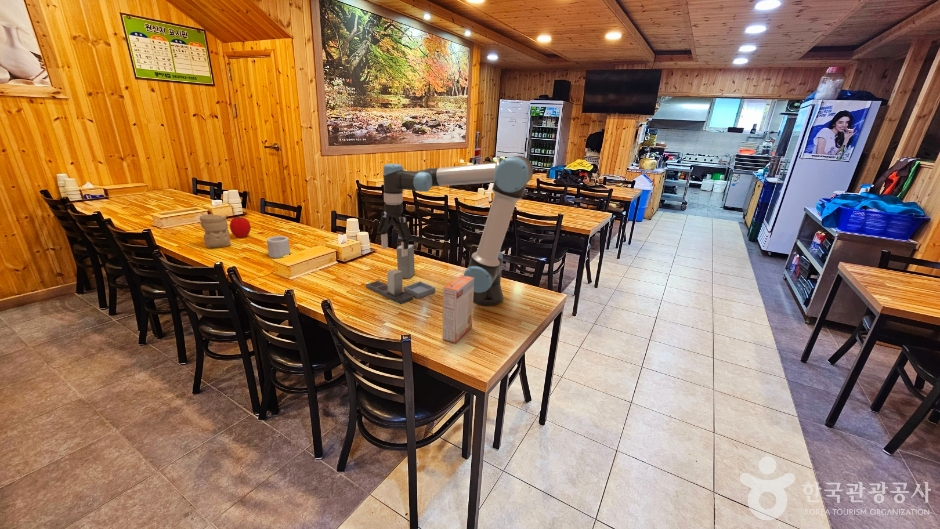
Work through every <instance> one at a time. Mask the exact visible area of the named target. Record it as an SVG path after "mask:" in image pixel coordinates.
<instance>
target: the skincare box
mask: <svg viewBox="0 0 940 529" xmlns="http://www.w3.org/2000/svg"><path fill="white" fill-rule="evenodd" d="M396 258H397V259H396V261H397V263H396V264H397V270H400V271H402V279H408V280H410V279H411V278H412V277H413V276H414V275H415V272H416V271H415V245H414V244H408V256H404V257H402V244H401V245H398V246H397V247H396Z"/></svg>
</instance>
